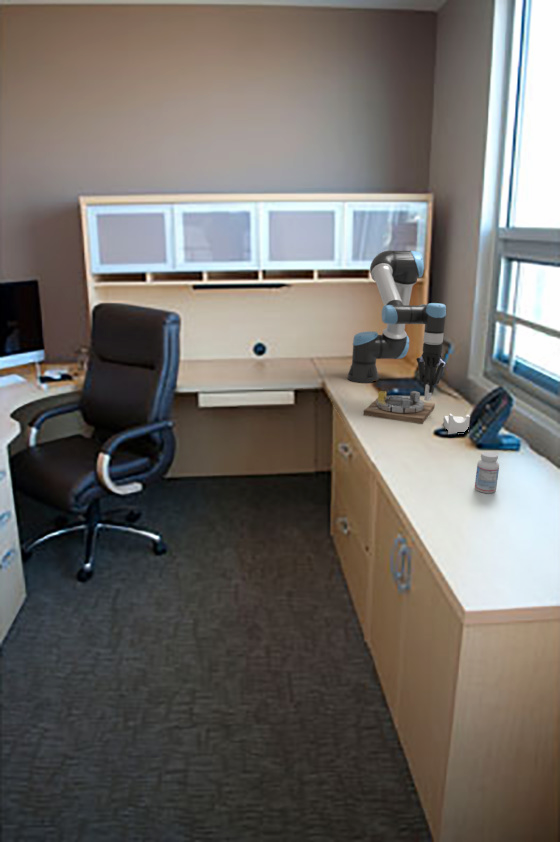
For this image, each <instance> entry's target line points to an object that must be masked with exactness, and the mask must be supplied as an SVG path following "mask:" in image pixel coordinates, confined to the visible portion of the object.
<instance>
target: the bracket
mask: <svg viewBox="0 0 560 842" xmlns="http://www.w3.org/2000/svg"><path fill="white" fill-rule="evenodd" d="M470 421H471V416H470V414H468V413H467V414H465V417H463V416H455V415H453V414H452V413H449V415H443V421H442V422H443V423H442V424H443V426H444V428H445V430H446V429H447V430H448V433H457V432H465V431H466V430H467V429H468V427H469V428H470ZM448 433H447V434H448Z"/></svg>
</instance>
